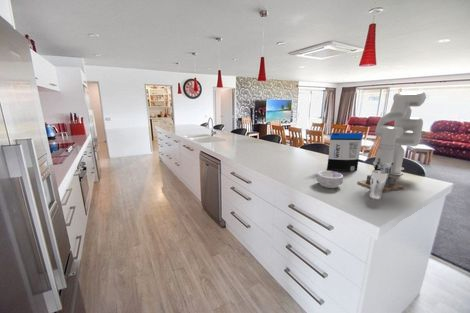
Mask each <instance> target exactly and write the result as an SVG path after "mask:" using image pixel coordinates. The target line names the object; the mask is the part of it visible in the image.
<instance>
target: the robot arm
mask: <svg viewBox="0 0 470 313" xmlns="http://www.w3.org/2000/svg"><path fill="white" fill-rule="evenodd" d="M426 96H427V95H426V93H425V91H405V92H404V91H402V92H397V93H395V94H394V95H393V103H392V105H391V108H390V111H389V112H388V113H385V115H383V116H382V117H381V118H380V119H379V121H378V122H377V125H376V128H375V131H374V132H375V136H376V137H379V138H380V140H379V146H378V149H377V151H376V155H375V159H374V161H373V162H372V164H373V170H379V171H380V169H379V168H380V167H381V166H383V165H384V164H385V163H391V166H390V172H389V175H393V176H402V175H403V174H404V172H402V171H403V170H405V167H402V166H403V161H404V156H405V149H404V147H403V146H405V147H417V146H418V145H419V144H420V140H421V137H422V136H421V135H422V131H423V130H422V129H423V125H424V121H423V119H422V118H421V117H417V116H416V117H414V116H412V107H415V108H416V107H417V108H418V107H421V106H422V105H423V104H424V103H425V101H426V98H427V97H426ZM392 121H394V125H385V124H387V123H389V122H392ZM407 131H409V132H407ZM410 131H411V132H410ZM378 165H379V166H378Z"/></svg>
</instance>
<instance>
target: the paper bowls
mask: <svg viewBox="0 0 470 313" xmlns="http://www.w3.org/2000/svg"><path fill="white" fill-rule="evenodd" d="M343 180H344V175H343V174H342V173H341V172H337V171H330V170H321V171H318V172H317V173H316V182H318V183H319V184H320V186H322V187H324V188H327V189H336V188H338V187H339V186H341V185H342V184H343V183H344V182H343Z"/></svg>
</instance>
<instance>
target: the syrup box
mask: <svg viewBox="0 0 470 313" xmlns="http://www.w3.org/2000/svg"><path fill="white" fill-rule="evenodd" d="M378 166H379V165H378ZM390 166H391V163H385V164H384V165H383V166H381V167H380V168H379V169H380V171H384V172H386V173H387V175H386V179H388V178H389V177H390V174H389V172H390Z"/></svg>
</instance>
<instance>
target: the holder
mask: <svg viewBox="0 0 470 313" xmlns="http://www.w3.org/2000/svg"><path fill="white" fill-rule="evenodd" d="M371 175H372V174H369V175H366V180H358V181H357V184H358V185H359V186H360V185H361V187H362V186H363V187H365V188H367V189H370V190H371V185H370V180H371ZM396 180H397V179H396V178H394V177H391V176H389V178H388V179H386V183H385V186H384V188H383V190H382V193H385V192H392V191H397V190H402V189H403V190H404V188H405V186H403V185H401V184H397V183H396Z"/></svg>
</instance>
